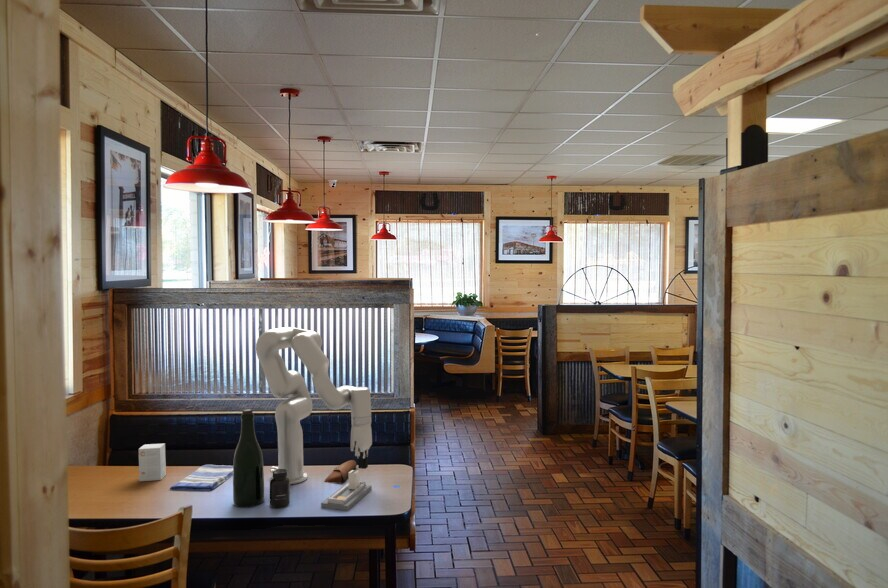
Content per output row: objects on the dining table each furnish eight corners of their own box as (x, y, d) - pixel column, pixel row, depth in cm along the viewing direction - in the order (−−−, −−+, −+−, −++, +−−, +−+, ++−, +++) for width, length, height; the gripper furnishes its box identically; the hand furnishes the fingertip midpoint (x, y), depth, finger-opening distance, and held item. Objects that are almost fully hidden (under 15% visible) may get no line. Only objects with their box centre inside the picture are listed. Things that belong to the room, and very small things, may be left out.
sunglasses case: (337, 466, 235) (344, 453, 234) (351, 475, 234) (359, 462, 233) (323, 482, 217) (331, 468, 216) (338, 492, 216) (346, 477, 216)
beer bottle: (250, 494, 205) (249, 405, 204) (270, 500, 200) (269, 408, 199) (226, 504, 196) (225, 411, 195) (246, 510, 191) (245, 414, 190)
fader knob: (355, 489, 205) (355, 472, 205) (348, 488, 206) (348, 472, 205) (359, 486, 208) (359, 470, 207) (352, 485, 208) (352, 469, 208)
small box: (166, 474, 226) (165, 443, 226) (160, 480, 220) (160, 447, 220) (144, 476, 225) (144, 444, 225) (138, 481, 219) (138, 448, 219)
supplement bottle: (279, 510, 191) (278, 475, 191) (265, 506, 195) (265, 472, 194) (294, 503, 197) (293, 469, 196) (280, 499, 200) (280, 466, 200)
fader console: (347, 510, 190) (347, 501, 190) (321, 507, 193) (321, 498, 193) (371, 489, 209) (371, 481, 209) (347, 486, 212) (347, 478, 212)
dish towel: (241, 471, 232) (241, 464, 232) (212, 492, 209) (212, 485, 208) (202, 469, 234) (201, 463, 234) (168, 491, 210) (168, 483, 210)
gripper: (360, 414, 220) (362, 461, 221) (343, 424, 206) (345, 473, 206) (378, 415, 218) (380, 462, 218) (362, 425, 204) (363, 475, 204)
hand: (363, 467), depth 212 cm, fingers closed
